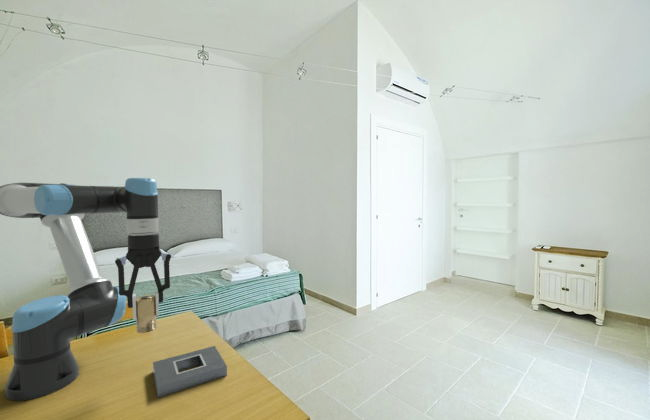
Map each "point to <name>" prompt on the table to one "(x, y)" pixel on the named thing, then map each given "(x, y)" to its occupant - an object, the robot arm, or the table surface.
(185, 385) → the plate
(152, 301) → the brass domed cylinder
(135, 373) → the table surface
